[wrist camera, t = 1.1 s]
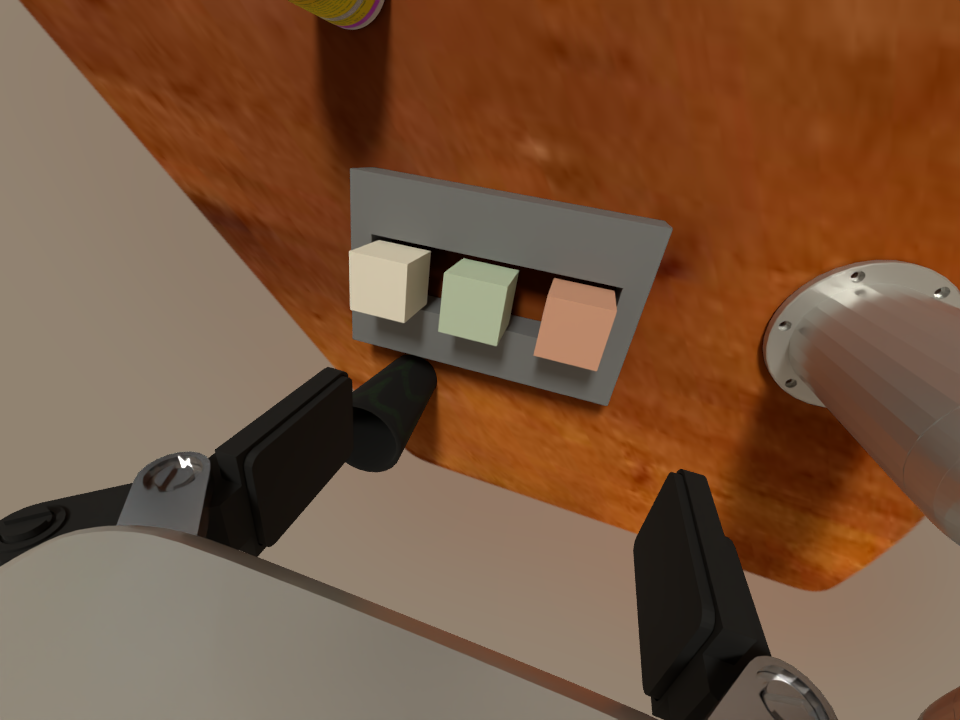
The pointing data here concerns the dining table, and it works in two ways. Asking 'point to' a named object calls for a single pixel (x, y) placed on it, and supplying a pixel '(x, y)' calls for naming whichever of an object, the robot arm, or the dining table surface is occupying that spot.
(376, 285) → the cream button
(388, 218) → the console
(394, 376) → the cup
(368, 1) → the supplement bottle
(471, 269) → the green button
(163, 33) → the dining table surface
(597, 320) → the terracotta button
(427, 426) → the dining table surface
